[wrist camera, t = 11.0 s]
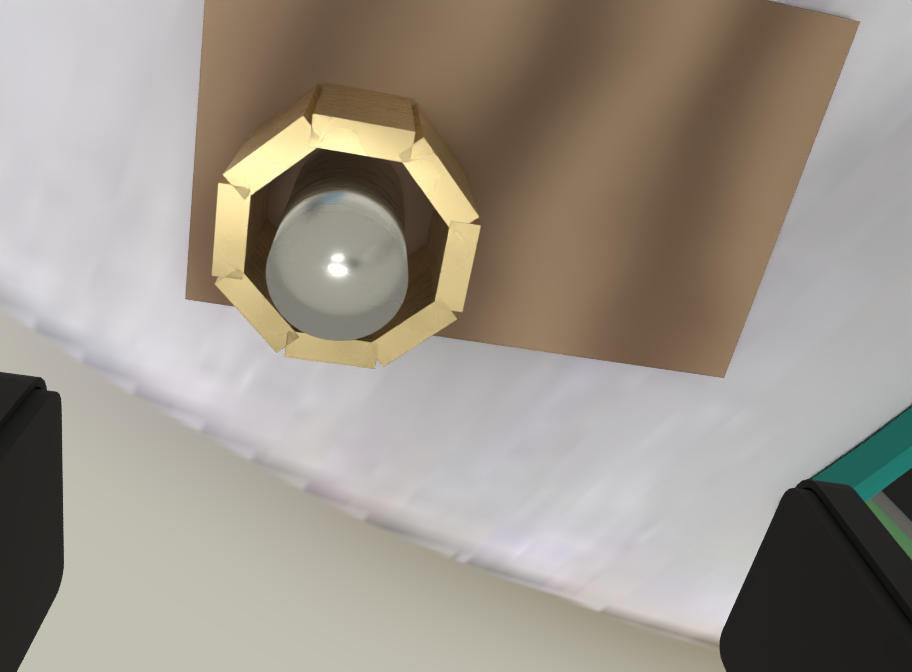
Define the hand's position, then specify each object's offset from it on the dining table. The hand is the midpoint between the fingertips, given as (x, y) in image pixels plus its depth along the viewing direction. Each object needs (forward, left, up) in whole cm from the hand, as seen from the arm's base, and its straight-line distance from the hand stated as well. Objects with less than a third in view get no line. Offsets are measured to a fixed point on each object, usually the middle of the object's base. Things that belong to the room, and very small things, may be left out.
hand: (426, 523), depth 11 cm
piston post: (+2, +1, -19) cm, 19 cm away
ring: (+1, +1, -18) cm, 18 cm away
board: (-3, -1, -19) cm, 19 cm away
